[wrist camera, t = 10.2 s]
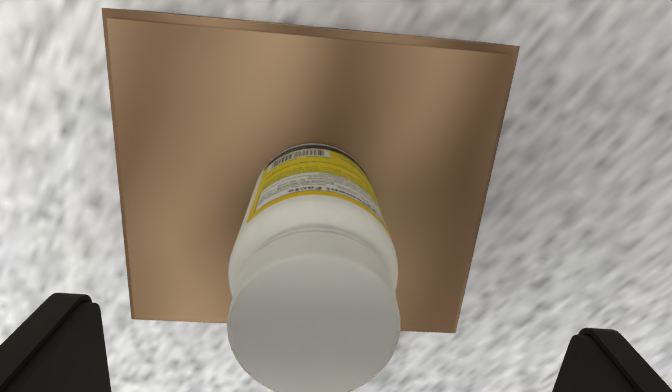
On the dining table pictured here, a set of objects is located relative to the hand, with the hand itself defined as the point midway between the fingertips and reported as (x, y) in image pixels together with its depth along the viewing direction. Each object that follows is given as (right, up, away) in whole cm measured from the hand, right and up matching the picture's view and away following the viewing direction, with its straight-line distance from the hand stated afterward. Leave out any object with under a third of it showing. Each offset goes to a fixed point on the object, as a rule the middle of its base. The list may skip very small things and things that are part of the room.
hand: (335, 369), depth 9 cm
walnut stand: (-1, +5, +13) cm, 14 cm away
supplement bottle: (-1, +3, +9) cm, 10 cm away
